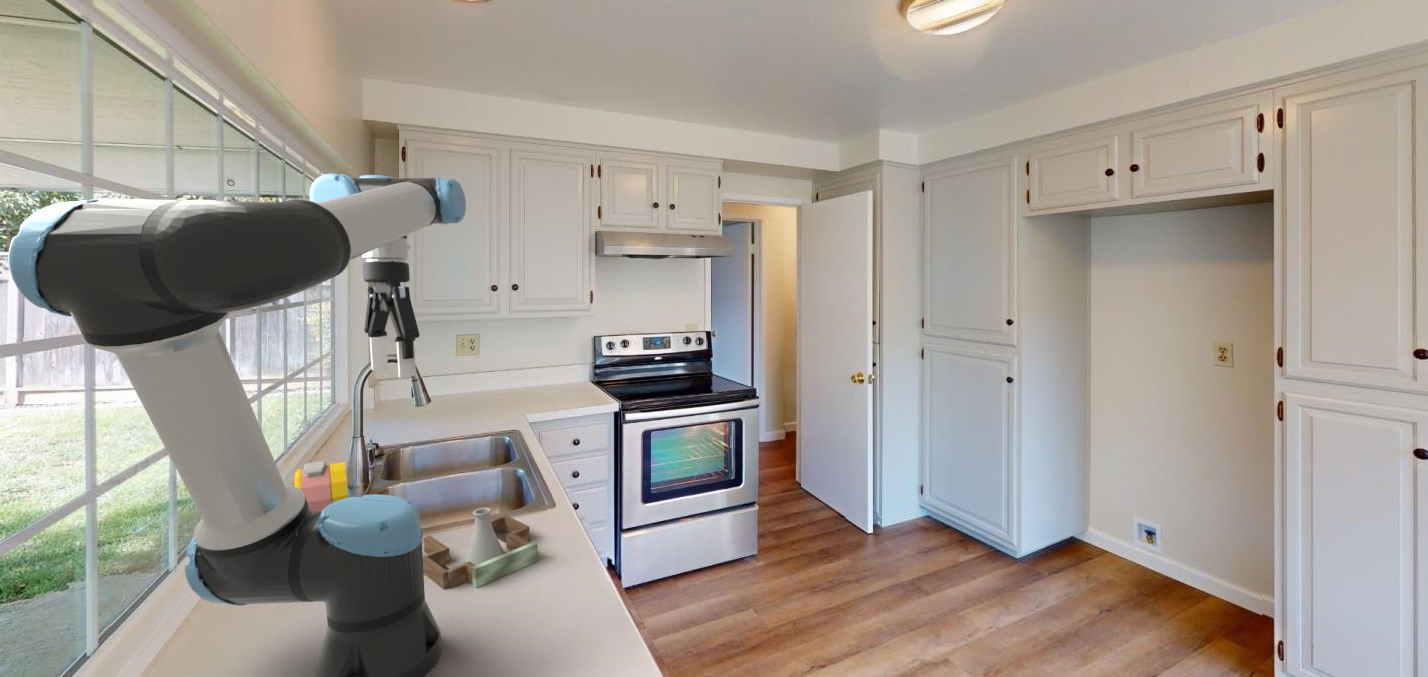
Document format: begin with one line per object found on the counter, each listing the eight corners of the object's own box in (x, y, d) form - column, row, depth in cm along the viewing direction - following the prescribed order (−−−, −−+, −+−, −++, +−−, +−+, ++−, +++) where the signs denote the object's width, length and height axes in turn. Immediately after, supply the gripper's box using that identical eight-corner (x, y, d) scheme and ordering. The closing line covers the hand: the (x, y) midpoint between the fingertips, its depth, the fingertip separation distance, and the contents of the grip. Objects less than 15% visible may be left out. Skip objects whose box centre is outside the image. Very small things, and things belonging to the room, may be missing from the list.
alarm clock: (302, 542, 116) (295, 457, 114) (349, 532, 120) (343, 450, 119) (300, 572, 103) (292, 477, 102) (352, 559, 108) (346, 468, 106)
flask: (512, 553, 110) (509, 505, 109) (488, 571, 103) (486, 520, 102) (480, 549, 112) (478, 501, 111) (455, 567, 105) (452, 516, 104)
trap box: (454, 597, 95) (453, 578, 94) (404, 559, 108) (403, 542, 108) (555, 553, 110) (554, 536, 110) (499, 524, 124) (499, 509, 123)
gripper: (435, 259, 99) (441, 376, 101) (383, 263, 115) (389, 364, 117) (389, 258, 93) (397, 382, 96) (341, 262, 110) (348, 369, 112)
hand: (393, 373), depth 106 cm, fingers open, 13 cm apart
